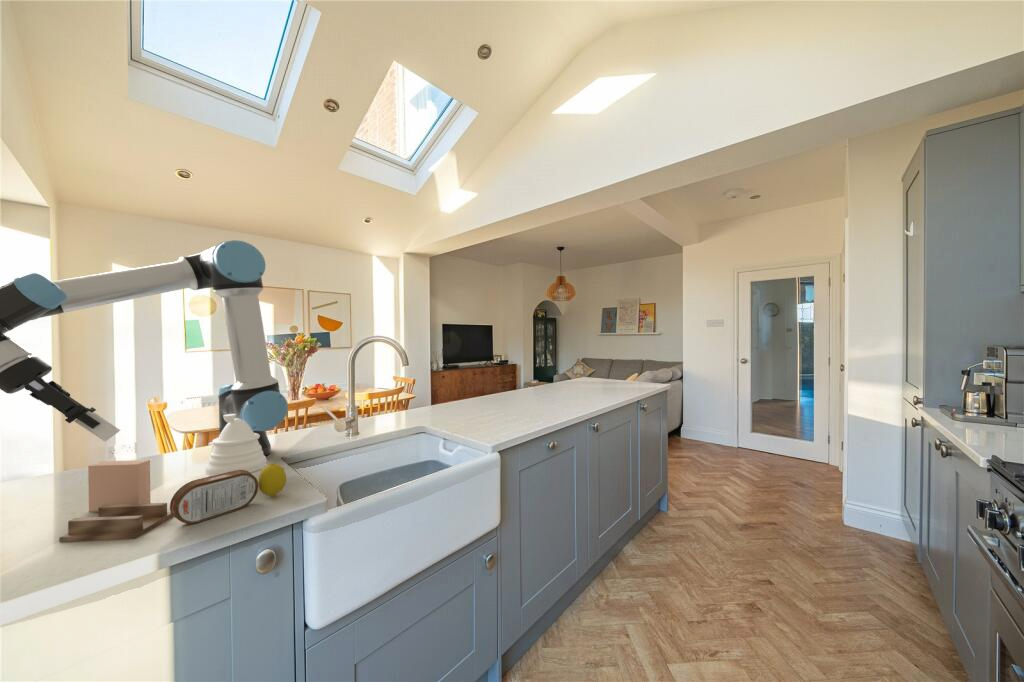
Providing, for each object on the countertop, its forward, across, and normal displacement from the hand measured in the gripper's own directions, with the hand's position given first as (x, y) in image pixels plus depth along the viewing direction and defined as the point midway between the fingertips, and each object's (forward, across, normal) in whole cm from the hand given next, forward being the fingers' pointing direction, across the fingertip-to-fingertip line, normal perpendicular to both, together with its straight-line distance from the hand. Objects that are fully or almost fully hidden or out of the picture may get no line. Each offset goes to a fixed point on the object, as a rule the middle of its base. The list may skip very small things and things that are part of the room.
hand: (113, 435), depth 85 cm
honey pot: (+27, 0, +6) cm, 27 cm away
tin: (+25, +19, -1) cm, 31 cm away
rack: (+14, +12, -11) cm, 21 cm away
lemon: (+31, +16, +7) cm, 36 cm away
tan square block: (+13, -1, -10) cm, 16 cm away
